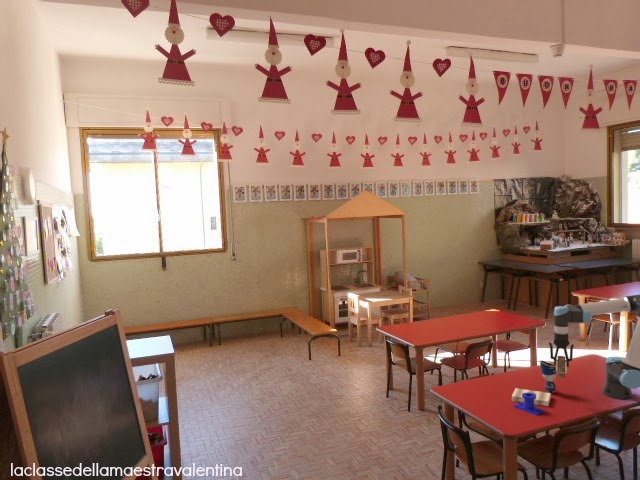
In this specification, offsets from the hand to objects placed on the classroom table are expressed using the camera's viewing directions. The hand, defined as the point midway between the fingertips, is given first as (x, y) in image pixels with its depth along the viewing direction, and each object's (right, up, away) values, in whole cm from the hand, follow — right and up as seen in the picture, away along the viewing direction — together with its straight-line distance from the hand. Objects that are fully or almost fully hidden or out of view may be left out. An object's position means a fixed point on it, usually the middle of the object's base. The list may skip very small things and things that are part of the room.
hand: (561, 371), depth 282 cm
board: (-15, -19, +7) cm, 25 cm away
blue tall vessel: (0, -18, +17) cm, 25 cm away
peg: (0, -3, 0) cm, 3 cm away
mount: (-22, -21, -7) cm, 31 cm away
